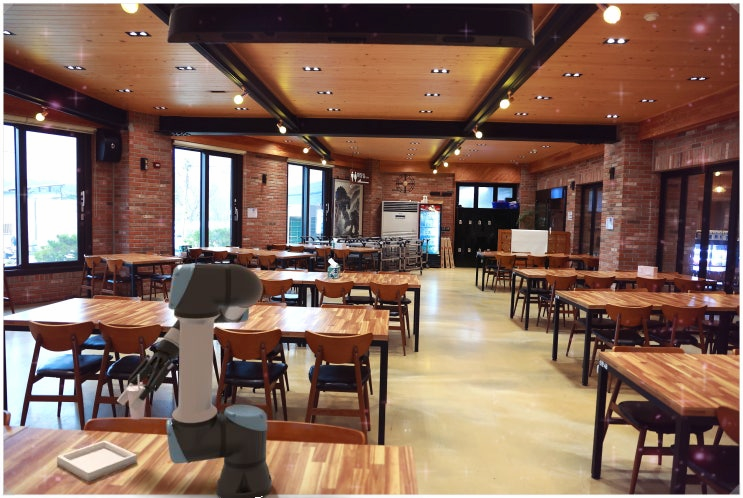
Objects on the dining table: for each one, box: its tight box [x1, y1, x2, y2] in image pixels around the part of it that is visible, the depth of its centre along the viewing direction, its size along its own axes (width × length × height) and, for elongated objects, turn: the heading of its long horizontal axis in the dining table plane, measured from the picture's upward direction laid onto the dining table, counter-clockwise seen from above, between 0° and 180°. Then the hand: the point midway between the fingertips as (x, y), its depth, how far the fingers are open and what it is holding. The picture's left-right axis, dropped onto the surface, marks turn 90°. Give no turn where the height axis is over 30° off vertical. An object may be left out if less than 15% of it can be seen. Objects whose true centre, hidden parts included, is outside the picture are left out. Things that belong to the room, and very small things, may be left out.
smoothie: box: [125, 374, 147, 420], centre depth 164 cm, size 6×6×14 cm
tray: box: [56, 440, 138, 482], centre depth 159 cm, size 18×15×2 cm
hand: (126, 405), depth 161 cm, fingers closed on smoothie, 6 cm apart
